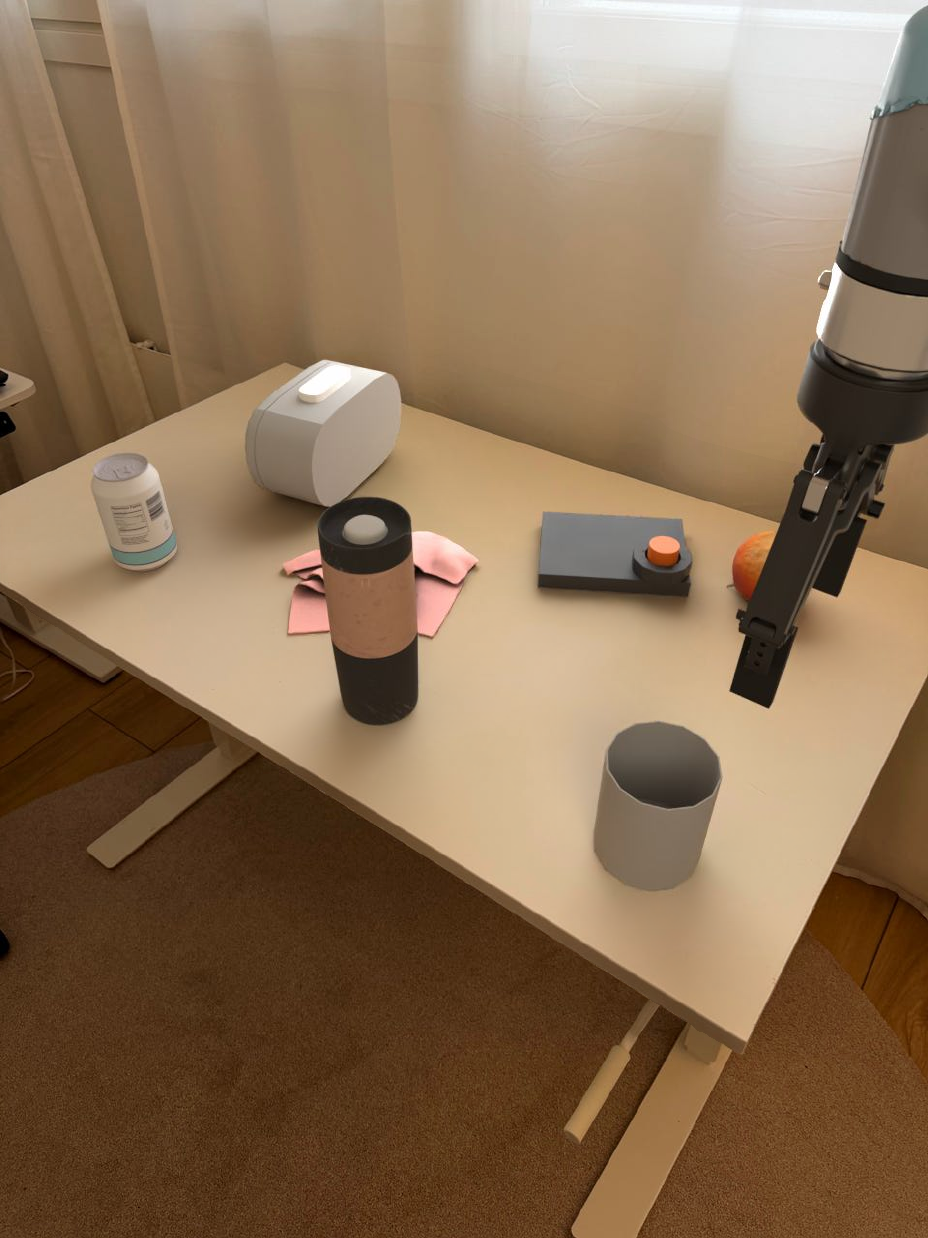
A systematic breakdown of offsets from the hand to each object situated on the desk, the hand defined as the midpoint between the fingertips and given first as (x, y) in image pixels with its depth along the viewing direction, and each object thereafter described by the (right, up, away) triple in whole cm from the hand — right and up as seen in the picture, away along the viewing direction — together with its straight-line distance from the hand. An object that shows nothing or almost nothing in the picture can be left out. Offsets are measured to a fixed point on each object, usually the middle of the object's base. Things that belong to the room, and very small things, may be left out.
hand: (788, 639), depth 62 cm
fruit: (+9, +4, +33) cm, 35 cm away
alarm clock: (-39, +19, +52) cm, 68 cm away
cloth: (-33, +5, +35) cm, 48 cm away
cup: (-8, -17, +9) cm, 21 cm away
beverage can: (-58, +8, +39) cm, 70 cm away
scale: (-6, +8, +38) cm, 39 cm away
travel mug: (-30, -6, +22) cm, 38 cm away
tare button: (-1, +8, +33) cm, 34 cm away
